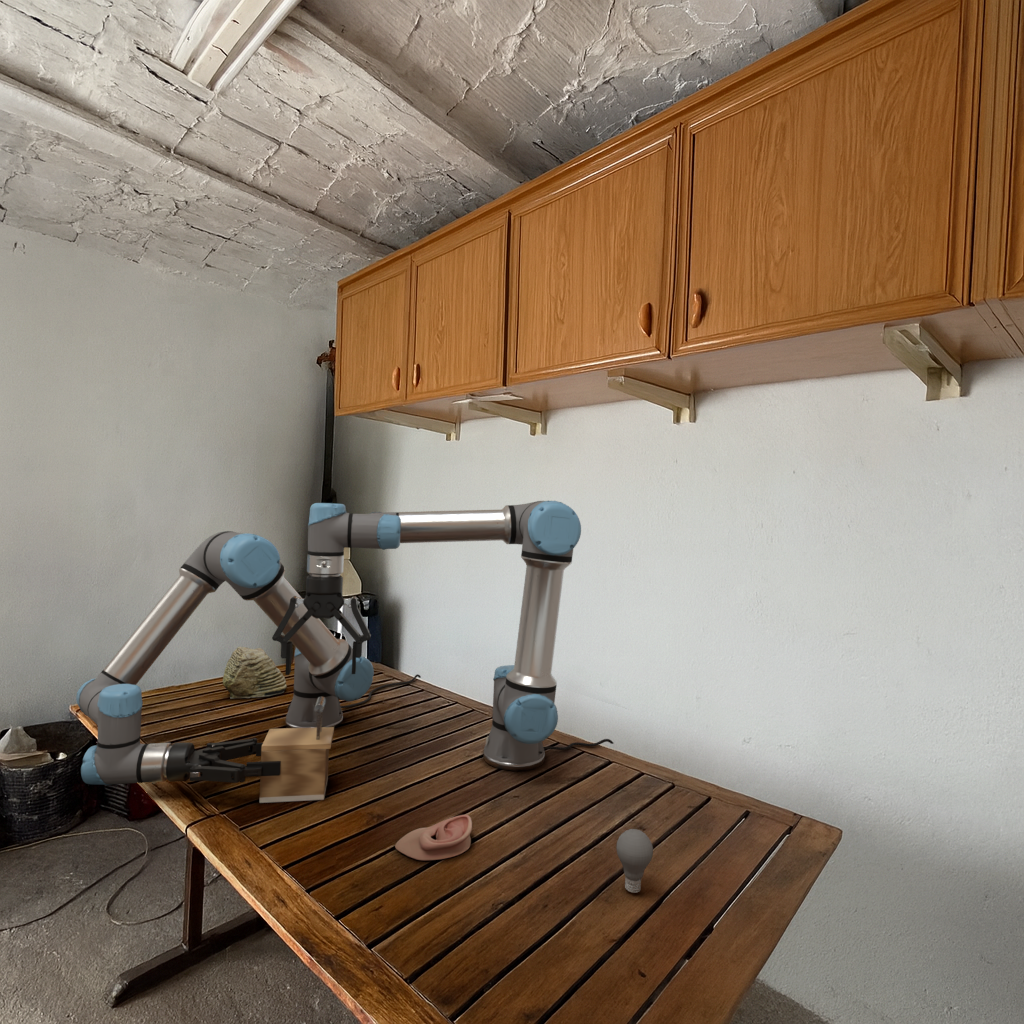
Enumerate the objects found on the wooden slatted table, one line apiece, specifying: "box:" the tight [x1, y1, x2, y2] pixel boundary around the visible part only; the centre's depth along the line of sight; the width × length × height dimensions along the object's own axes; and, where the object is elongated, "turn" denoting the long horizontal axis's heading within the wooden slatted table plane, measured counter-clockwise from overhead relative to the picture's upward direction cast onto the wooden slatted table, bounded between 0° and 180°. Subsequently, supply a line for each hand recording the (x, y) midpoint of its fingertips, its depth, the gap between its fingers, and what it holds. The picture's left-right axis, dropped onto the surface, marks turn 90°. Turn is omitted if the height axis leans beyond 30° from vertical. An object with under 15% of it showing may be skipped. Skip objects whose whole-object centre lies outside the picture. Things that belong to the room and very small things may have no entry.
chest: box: [258, 749, 330, 804], centre depth 136 cm, size 13×10×11 cm
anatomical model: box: [394, 814, 473, 861], centre depth 117 cm, size 13×4×12 cm
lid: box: [261, 696, 335, 751], centre depth 136 cm, size 14×10×9 cm
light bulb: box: [615, 828, 654, 894], centre depth 106 cm, size 6×6×10 cm
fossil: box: [222, 646, 288, 699], centre depth 198 cm, size 9×18×15 cm, turn 132°
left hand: (283, 757), depth 135 cm, fingers closed on chest, 10 cm apart
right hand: (321, 673), depth 137 cm, fingers open, 13 cm apart
